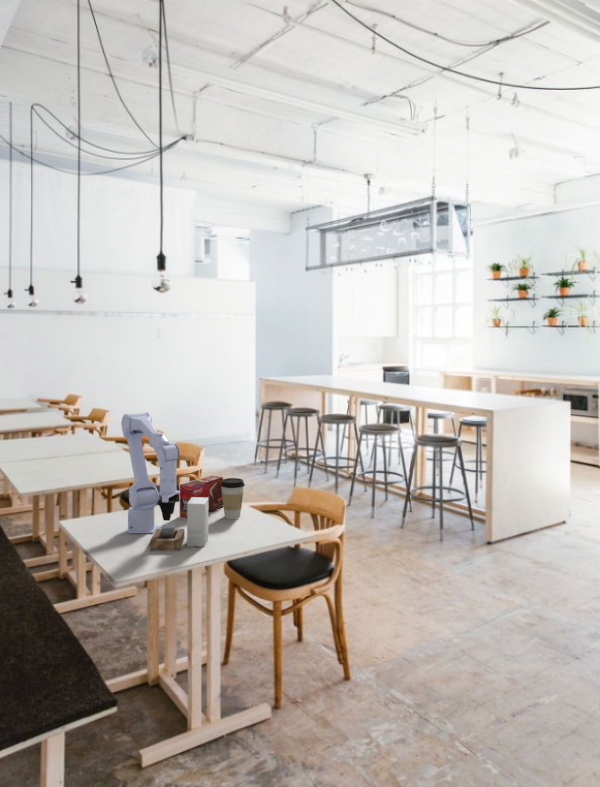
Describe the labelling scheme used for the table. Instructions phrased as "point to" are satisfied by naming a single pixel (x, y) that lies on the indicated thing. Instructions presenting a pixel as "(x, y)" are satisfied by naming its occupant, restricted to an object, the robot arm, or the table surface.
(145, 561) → the table surface
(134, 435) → the robot arm
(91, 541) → the table surface
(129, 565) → the table surface
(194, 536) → the skincare box
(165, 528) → the tall grey block
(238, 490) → the coffee cup
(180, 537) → the well block
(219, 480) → the ice cream box
